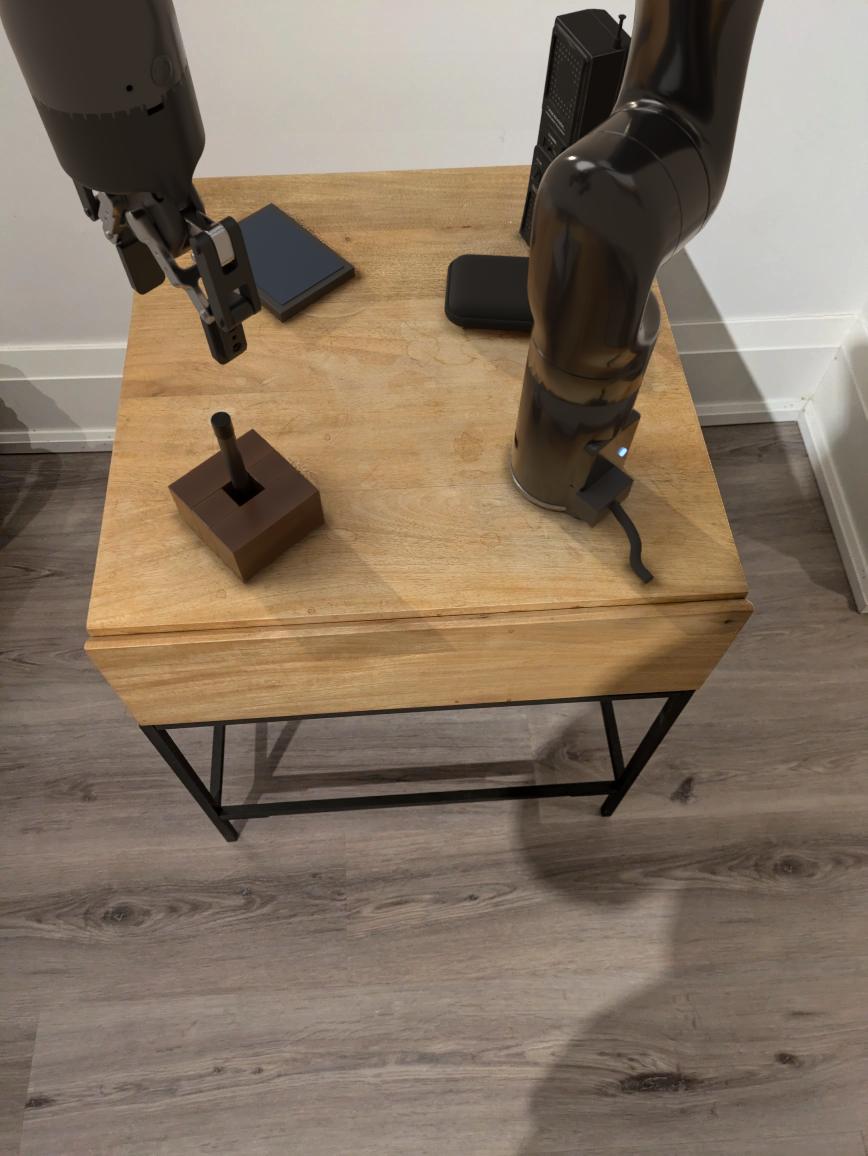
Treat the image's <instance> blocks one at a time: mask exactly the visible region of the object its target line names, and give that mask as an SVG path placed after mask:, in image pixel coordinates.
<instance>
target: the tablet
mask: <svg viewBox="0 0 868 1156" xmlns="http://www.w3.org/2000/svg"><path fill="white" fill-rule="evenodd" d="M236 222H237V223H238V225H239V227H240V229H241V231H242V235H243V239H244V243H245V246H246V250H247V254H248V258H249V261H250V265H251V269H252V273H253V276H254V280H255V284H256V288H257V292H258V295H259V299H260V303H261V306H262V307H263V308H265V309H266V310H267V311H269V313H271V314H272V315H273V316H274V317H276V318H277V319H278V320H279V321H280V322H281V323H283V322H285V321H287V320H288V319H290V318H291V317H293V316H295V315H296V314H298V313H299V312H301V311H303V310H304V309H306V308H307V307H309V306H310V305H312V304H314V303H315V302H316V301H318V300H320V299H321V298H323V297H324V296H326V295H328V294H329V293H331V292H332V291H334V290H336V289H337V288H338V287H341V286H342V285H343V284H345V283H346V282H348V281H350V280H351V279H353V278H354V277H355V276H356V268H355V266H354V265H352V264H351V263H350V262H349V261H348V260H346V259H345V258H344V257H343V256H341V254H339V253H338V252H336V251H335V250H333V249H332V248H331V247H329V246H328V245H327V244H325V242H323V241H322V240H321V239H319V238H318V237H317V236H315V235H314V234H313V233H311V231H309V230H308V229H306V228H305V227H303V225H302V224H300V223H299V222H297V221H296V220H295V219H293V218H292V217H291V216H289V214H287V213H286V212H285V211H283V210H282V209H281V208H279V207H278V206H277V205H276V204H275V203H273V202H270V203H268V204H266V205H265V206H263V207H262V208H259V209H258V210H256V211H255V212H253V213H251V214H249V215H247V216H246V217H243V218H242V219H241V220H238V221H236Z"/></svg>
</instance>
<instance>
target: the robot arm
mask: <svg viewBox="0 0 868 1156" xmlns="http://www.w3.org/2000/svg"><path fill="white" fill-rule="evenodd" d="M634 1H635V3H634V14H633V15H634V16H633V23H632V32H631V36H630V37H631V43H630V48H629V54H628V59H627V64H626V68H625V73H624V77H623V82H622V85H621V89H620V92H619V96H618V99H617V102H616V104H615V107H614V109H613V111H612V112H611V114H610V116H609V117H608V118H607V119H606V120H605V121H603V122H602V123H601V124H599V125H598V126H597V127H596V128H594V129H593V130H592V131H590V132H589V133H588V134H586V135H585V136H584V137H582V138H581V139H580V140H578V141H577V142H575V143H574V144H573V145H572V146H570V147H569V148H568V149H567V150H565V151H564V152H563V153H561V154H560V155H559V156H558V157H557V158H556V159H555V160H554V161H553V162H552V163H551V164H550V165H549V167H548V168H547V170H546V172H545V174H544V176H543V178H542V180H541V183H540V185H539V189H538V192H537V196H536V200H535V205H534V211H533V219H532V228H531V240H530V248H529V252H528V253H529V254H528V255H529V256H528V257H529V266H528V277H527V294H528V301H529V305H530V309H531V312H532V315H533V323H532V331H531V333H530V337H529V338H530V339H529V344H528V350H527V355H526V362H525V369H524V373H523V374H524V375H523V381H522V388H521V392H520V393H521V394H520V400H519V406H518V412H517V418H515V419H514V420H515V421H516V422H515V424H514V426H513V431H514V434H513V435H512V436H513V437H512V441H513V442H512V447H511V452H510V455H509V456H510V457H509V463H508V467H509V468H508V470H509V475H510V478H511V481H512V483H513V485H514V486H515V488H516V489H517V491H518V492H519V493H520V494H521V496H523V497H524V498H525V499H526V500H527V501H529V502H531V503H533V504H534V505H536V506H538V507H541V508H544V509H547V510H550V511H557V512H565V513H567V514H569V515H570V516H571V517H572V518H577V517H578V518H580V519H581V520H582V521H583V522H584V523H586V524H587V525H588V527H590V528H592V529H593V528H594V527H596V526H598V524H599V523H600V522H601V521H602V520H604V519H605V518H606V517H607V516H608V515H609V514H612V515H613V517H614V518H615V519H616V521H617V522H618V523H619V525H620V526H621V528H622V529H623V531H624V532H625V534H626V537H627V539H628V542H629V547H630V548H629V563H630V566H631V568H632V570H633V572H634V573H635V575H636V576H637V577H638V578H639V579H640V580H641V581H642V582H643V583H644V585H645V584H648V583H650V582H651V581H652V580H653V579H654V578H655V577H654V575H653V574H652V573H651V571H649V570H648V568H646V567H645V565H644V564H643V561H642V549H643V544H642V539H641V536H640V534H639V532H638V529H637V527H636V526H635V523H634V522H633V520H632V519H631V517H630V516H629V515H628V513H627V512H626V511H625V509H624V508H623V506H622V503H623V502H624V501H625V500H626V499H627V498H629V495H630V493H631V490H632V487H633V484H634V482H635V479H633V477H632V476H630V475H629V474H627V473H626V472H625V471H623V468H624V466H625V463H626V460H627V458H628V454H629V452H630V449H631V446H632V443H633V440H634V437H635V435H636V432H637V429H638V426H639V423H640V421H641V418H642V414H641V412H639V411H638V410H637V409H635V405H636V402H637V398H638V395H639V393H640V389H641V387H642V384H643V381H644V378H645V375H646V374H647V373H646V372H647V369H648V366H649V363H650V360H651V357H652V356H653V355H652V354H653V352H654V350H655V347H656V344H657V341H658V338H659V335H660V332H661V327H662V319H663V317H662V316H663V315H662V308H661V304H660V302H659V299H658V297H657V296H656V294H655V292H654V291H653V290H652V286H653V284H654V281H655V278H656V276H657V274H658V272H659V270H660V269H661V268H662V267H663V266H664V265H666V264H667V263H668V262H669V261H670V260H671V259H672V258H674V256H675V255H677V254H678V253H679V252H681V250H682V249H684V247H685V246H686V245H688V244H689V243H690V242H691V241H692V240H693V239H694V238H695V237H696V236H697V235H699V234H700V233H701V232H702V230H703V229H704V228H705V227H706V225H708V223H709V222H710V220H711V218H712V217H713V215H714V213H715V212H716V210H717V209H718V207H719V206H720V203H721V201H722V198H723V195H724V192H725V190H726V186H727V182H728V177H729V174H730V170H731V164H732V158H733V153H734V149H735V143H736V137H737V131H738V126H739V121H740V113H741V109H742V102H743V98H744V92H745V87H746V81H747V75H748V69H749V64H750V59H751V54H752V50H753V49H752V48H753V45H754V39H755V36H756V31H757V27H758V23H759V19H760V17H761V13H762V9H763V6H764V2H765V0H634ZM0 21H1V25H2V28H3V30H4V32H5V35H6V38H7V40H8V42H9V46H10V48H11V50H12V52H13V55H14V57H15V60H16V62H17V64H18V66H19V69H20V71H21V74H22V77H23V79H24V81H25V84H26V86H27V89H28V91H29V93H30V95H31V98H32V101H33V103H34V105H35V108H36V110H37V113H38V115H39V117H40V120H41V122H42V125H43V127H44V129H45V132H46V134H47V137H48V139H49V142H50V144H51V146H52V148H53V151H54V153H55V156H56V158H57V161H58V163H59V165H60V167H61V168H62V170H63V171H64V172H65V173H66V175H67V176H68V177H69V178H70V179H71V180H72V182H73V185H74V188H75V191H76V193H77V195H78V198H79V200H80V203H81V206H82V208H83V212H84V214H85V216H87V218H89V219H90V221H92V222H93V223H94V222H97V221H99V220H100V221H101V222H102V231H103V234H104V236H105V238H106V239H107V240H108V242H110V243H111V244H112V245H114V247H115V249H116V251H117V254H118V256H119V259H120V262H121V264H122V266H123V269H124V272H125V275H126V277H127V279H128V282H129V284H130V287H131V288H132V289H133V291H135V292H136V293H137V294H139V295H141V296H143V295H146V294H148V293H149V292H151V291H154V290H155V289H156V288H158V287H160V286H161V285H163V284H164V282H165V281H166V278H167V280H168V282H169V283H170V284H171V285H172V287H174V288H176V289H182V290H184V292H185V293H186V295H187V296H188V298H189V300H190V301H191V303H192V304H193V306H194V308H195V309H196V311H197V313H198V315H199V319H200V322H201V326H202V329H203V332H204V335H205V339H206V342H207V345H208V348H209V351H210V355H211V357H212V358H213V360H214V361H216V362H217V363H218V364H219V365H221V366H225V365H227V364H229V363H230V362H232V361H233V360H235V359H236V358H237V357H239V356H241V355H242V354H244V353H245V351H247V349H248V341H247V338H246V333H245V329H244V326H243V322H245V321H246V320H248V319H249V318H251V317H252V316H255V315H257V314H258V313H260V312H261V311H262V310H263V306H262V305H261V303H260V299H259V295H258V292H257V288H256V284H255V280H254V276H253V273H252V269H251V265H250V261H249V258H248V254H247V250H246V246H245V243H244V239H243V235H242V231H241V229H240V227H239V225H238V223H237V222H238V221H237V220H236V219H235V218H234V217H233V216H231V215H227V216H226V217H224V218H222V219H220V220H219V221H215V220H213V219H212V218H210V217H209V216H208V215H207V212H206V205H205V202H204V200H203V198H202V197H201V195H200V193H199V191H198V190H197V188H196V186H195V184H194V182H193V177H194V174H195V171H196V168H197V165H198V164H199V161H200V159H201V158H202V155H203V153H204V150H205V146H206V131H205V127H204V121H203V119H202V115H201V110H200V106H199V102H198V98H197V93H196V90H195V86H194V81H193V78H192V74H191V70H190V66H189V61H188V57H187V53H186V49H185V45H184V41H183V37H182V33H181V29H180V25H179V20H178V16H177V13H176V9H175V4H174V1H173V0H0ZM94 191H95V192H98V193H97V194H96V195H94ZM190 251H192V253H190V258H191V260H192V262H193V263H191V264H190V265H188V266H187V267H185V268H183V267H181V266H180V265H179V264H178V263H177V261H176V259H178V258H180V257H182V256H183V255H185V254H187V253H189V252H190ZM200 279H201V281H202V284H203V288H204V290H205V293H204V291H203V290H202V288H201V286H200V284H199V281H200Z"/></svg>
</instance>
